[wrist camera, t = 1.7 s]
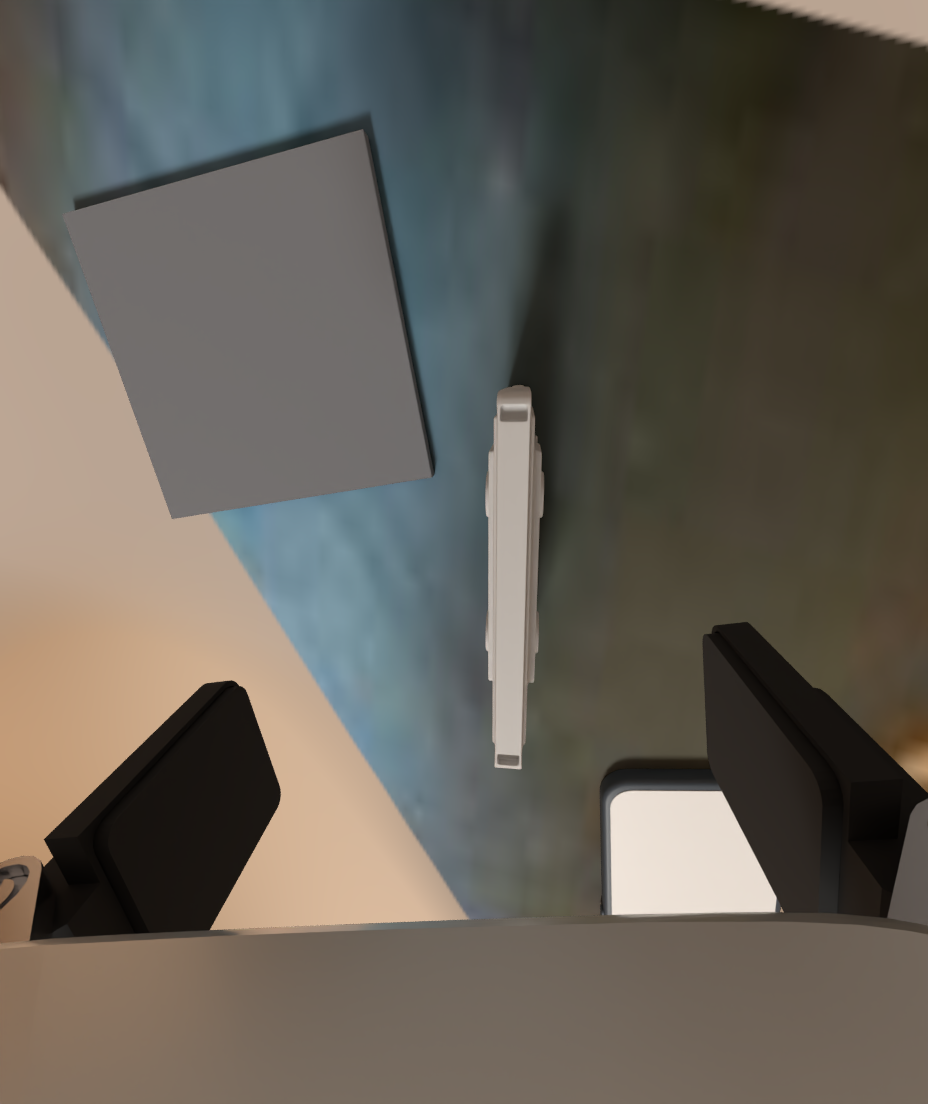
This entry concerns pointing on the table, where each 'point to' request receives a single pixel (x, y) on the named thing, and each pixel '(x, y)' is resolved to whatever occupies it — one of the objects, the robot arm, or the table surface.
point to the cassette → (513, 568)
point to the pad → (259, 329)
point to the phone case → (675, 847)
